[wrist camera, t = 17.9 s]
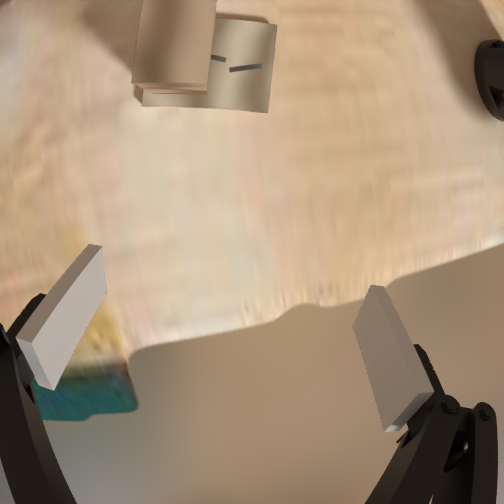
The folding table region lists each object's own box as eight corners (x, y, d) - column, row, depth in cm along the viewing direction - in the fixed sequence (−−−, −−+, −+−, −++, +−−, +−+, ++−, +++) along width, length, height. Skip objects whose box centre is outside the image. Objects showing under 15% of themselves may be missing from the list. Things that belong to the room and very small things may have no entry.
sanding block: (214, 29, 28) (216, -4, 18) (207, 95, 31) (206, 83, 22) (160, 28, 27) (144, -3, 18) (152, 94, 30) (131, 83, 21)
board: (274, 28, 29) (277, 24, 28) (265, 113, 34) (267, 112, 32) (155, 20, 27) (153, 17, 26) (144, 106, 31) (141, 106, 30)
